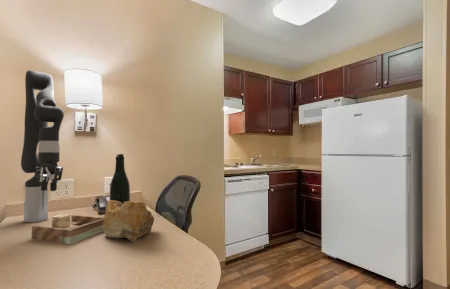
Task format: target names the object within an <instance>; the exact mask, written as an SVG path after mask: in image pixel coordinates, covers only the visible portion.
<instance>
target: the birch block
mask: <svg viewBox="0 0 450 289" xmlns="http://www.w3.org/2000/svg"><path fill="white" fill-rule="evenodd" d="M70 221H71V214H65V213H61V214H59V215H54V216H52V217H51V227H53V228H64V227H67V226H70Z"/></svg>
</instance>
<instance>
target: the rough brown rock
mask: <svg viewBox="0 0 450 289" xmlns="http://www.w3.org/2000/svg"><path fill="white" fill-rule="evenodd" d="M106 203H107V204H106V207H105V213H104V216H103V217H104V221H103V229H104V231H103V233H104V234H105V236H106V237H107V238H115V239H122V238H126V239H127V240H129V241H130V242H131V243H134V242H136V241H137V239H139V238H140V237H143V236H144V235H149V234H151V232H152V227H153V226H154V222H155V217H154V216H153V214H152V211H151V210H148V209H147V205H146V203H145V202H143V201H139V200H138V201H131V200H130V201H127V202H124V204H122V203H121V202H118V201H113V200H110V201H109V200H108V201H107V202H106Z"/></svg>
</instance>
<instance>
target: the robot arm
mask: <svg viewBox="0 0 450 289" xmlns="http://www.w3.org/2000/svg"><path fill="white" fill-rule="evenodd" d="M24 84H25V85H24V86H25V87H24V88H25V107H24V108H25V110H24V111H25V112H24V124H23V125H24V134H23V135H24V136H23V146H22V153H21V158H20V166H21V170H22V171H23V172H24V173H26V174H33V173H34V175H33V176H32V177H31V178H29V179H28V180H26V181H25V183H24V202H23V222H24V223H38V222H43V221H46V220H48V218H49V217H48V216H49V191H50V192H55V191H57V189H58V187H57V186H58V185H57V184H58V183H57V182H59V181H61V180H62V176H63V170H64V167H63V166H58V163H60V149H61V148H60V129H61V126H62V122H63V120H64V116H65V112H64V110H63V108H61V107H58V106H57V102H56V99H55V91H54V90H55V88H54V78H53V76H52V74H49V73H47V72H41V71H36V70H31V69H30V70H29V69H28V70H27V71H26V73H25V83H24ZM35 91H39V92H38V93H37V94H36V95H35ZM49 123H53V125H52V126H49V125H48V124H49ZM37 151H38V152H37ZM37 153H38V154H37ZM49 181H50V182H49ZM49 185H50V186H49Z"/></svg>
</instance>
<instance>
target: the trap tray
mask: <svg viewBox="0 0 450 289" xmlns="http://www.w3.org/2000/svg"><path fill="white" fill-rule="evenodd" d="M103 221H104V216H94V215H93V216H92V215H91V216H90V215H81V214H70V226H67V227H64V228H53V227H52V226H43V225H32V226H31V240H36V241H42V242H44V241H45V242H51V243H56V244H59V243H60V244H64V245H65V244H66V245H72V244H74V243H77V242H79V241H82V240H84V239H87V238H89V237H92V236H96V235H98V234H99V233H102V232H104V229H103Z"/></svg>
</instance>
